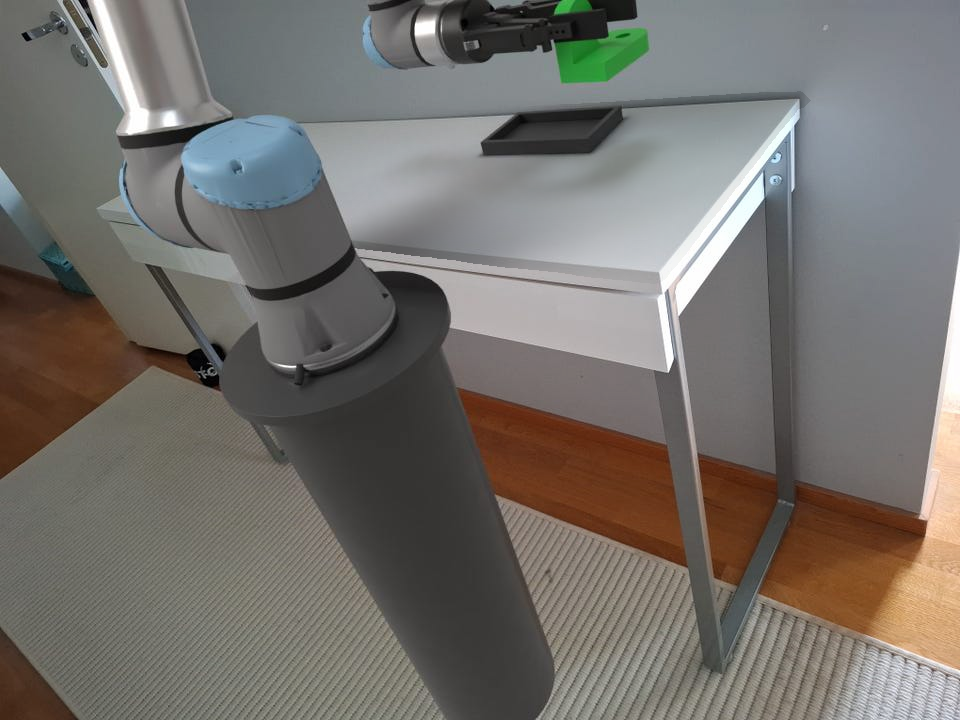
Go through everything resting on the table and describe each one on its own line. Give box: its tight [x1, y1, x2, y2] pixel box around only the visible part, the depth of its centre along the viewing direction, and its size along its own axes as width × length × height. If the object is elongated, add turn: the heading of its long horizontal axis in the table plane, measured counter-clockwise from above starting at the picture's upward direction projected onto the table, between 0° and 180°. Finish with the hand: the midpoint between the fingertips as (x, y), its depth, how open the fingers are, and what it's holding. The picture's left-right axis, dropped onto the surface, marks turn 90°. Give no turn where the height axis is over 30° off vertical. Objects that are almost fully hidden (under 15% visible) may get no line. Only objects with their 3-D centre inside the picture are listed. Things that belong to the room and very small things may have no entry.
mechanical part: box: [554, 0, 650, 84], centre depth 75 cm, size 12×6×8 cm, turn 141°
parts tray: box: [480, 105, 624, 156], centre depth 98 cm, size 12×18×2 cm, turn 58°
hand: (619, 14), depth 70 cm, fingers closed on mechanical part, 5 cm apart
